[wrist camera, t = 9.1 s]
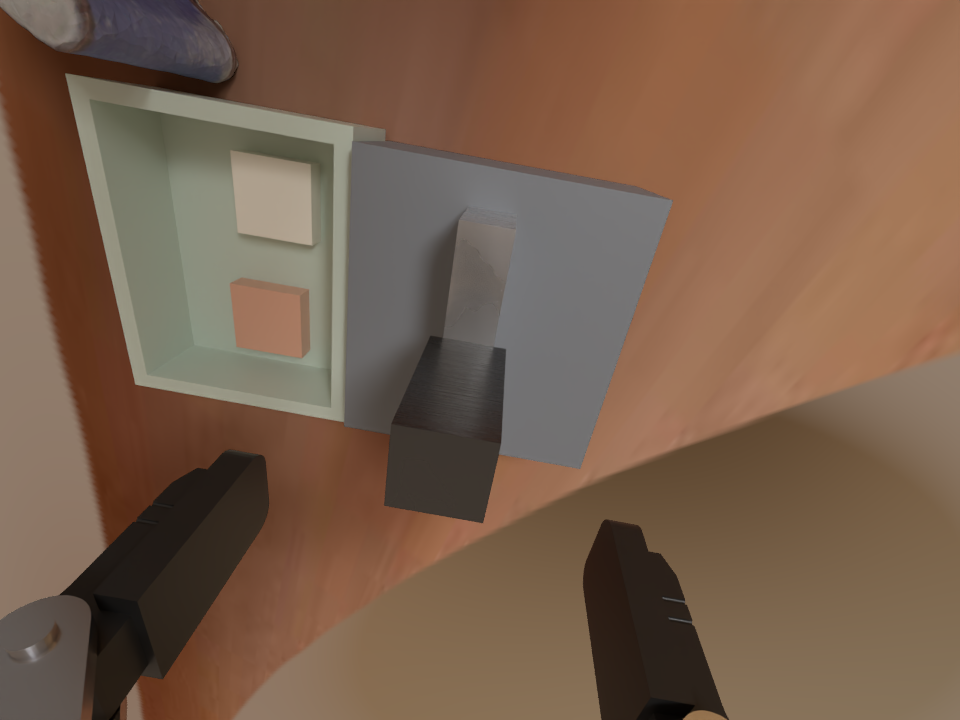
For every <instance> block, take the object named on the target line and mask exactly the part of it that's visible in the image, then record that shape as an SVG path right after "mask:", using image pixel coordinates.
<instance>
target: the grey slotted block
mask: <svg viewBox="0 0 960 720" xmlns="http://www.w3.org/2000/svg"><path fill="white" fill-rule="evenodd" d="M672 202H673V200H670V199H668V198H665V197H663V196H660V195H657V194H655V193H652V192H650V191H647V190H644V189H642V188H639V187H636V186H631V185H626V184H620V183H615V182H609V181H604V180H599V179H593V178H588V177H582V176H577V175H571V174H566V173H561V172H555V171H550V170H544V169H539V168H534V167H528V166H523V165H517V164H512V163H506V162H501V161H496V160H490V159H485V158H479V157H474V156H469V155H463V154H458V153H452V152H447V151H442V150H436V149H431V148H425V147H420V146H414V145H409V144H404V143H398V142H393V141H352V160H351V196H350V232H349V268H348V304H347V340H346V377H345V413H344V426H345V427H350V428H356V429H362V430H367V431H373V432H378V433H384V434H389V435H390V430H391V423H392V421H393V419H394V416H395V414H396V412H397V410H398V407H399V405H400V403H401V401H402V398H403V396H404V394H405V392H406V389H407V387H408V385H409V383H410V380H411V378H412V376H413V374H414V371H415V369H416V367H417V365H418V362H419V360H420V358H421V356H422V353H423V351H424V349H425V347H426V344H427V342H428V340H429V337H430V335H431V336H436V337H442V338H443V334H444V327H445V319H446V312H447V305H448V297H449V290H450V282H451V275H452V268H453V260H454V253H455V245H456V238H457V230H458V223H459V219H460V218H461V216H462V215H463V214H464V212H465V211H466V209H467V208H468V207H469V206H471V207H476V208H482V209H487V210H493V211H498V212H504V213H509V214H515V215H516V234H515V239H514V244H513V249H512V254H511V260H510V265H509V270H508V275H507V280H506V285H505V290H504V296H503V301H502V306H501V311H500V316H499V321H498V326H497V331H496V337H495V342H494V347H498V348H503V349H506V361H505V381H504V400H503V419H502V439H501V447H500V451H499V454H500V455H506V456H511V457H517V458H522V459H528V460H533V461H539V462H545V463H550V464H556V465H561V466H567V467H572V468H578V469H580V468H581V465H582V462H583V459H584V456H585V453H586V450H587V447H588V444H589V442H590V439H591V436H592V433H593V430H594V427H595V424H596V421H597V419H598V416H599V413H600V410H601V407H602V404H603V401H604V398H605V395H606V393H607V390H608V387H609V384H610V381H611V378H612V375H613V372H614V370H615V367H616V364H617V361H618V358H619V355H620V352H621V349H622V346H623V344H624V341H625V338H626V335H627V332H628V329H629V326H630V323H631V321H632V318H633V315H634V312H635V309H636V306H637V303H638V300H639V297H640V295H641V292H642V289H643V286H644V283H645V280H646V277H647V274H648V272H649V269H650V266H651V263H652V260H653V257H654V254H655V251H656V248H657V246H658V243H659V240H660V237H661V234H662V231H663V228H664V225H665V223H666V220H667V217H668V214H669V211H670V208H671V205H672Z"/></svg>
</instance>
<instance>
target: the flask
mask: <svg viewBox="0 0 960 720" xmlns="http://www.w3.org/2000/svg"><path fill="white" fill-rule="evenodd" d="M0 7H1V8H2V9H3V10H4V11H5V12H6V13H7V14H8V15H9V16H10V17H12V18H13V19H14V20H15V21H16V22H17V23H18V24H20V25H21V26H22V27H23V28H25V29H26V30H28V31H29V32H31V33H32V34H33V35H34V36H35V37H36V38H37V39H38V40H39V41H42V42H44V43H45V44H46V45H48V46H49V47H51V48H53V49H54V50H56V51H60V52H65V53H71V54H78V55H85V56H90V57H94V58H99V59H104V60H109V61H115V62H121V63H125V64H129V65H134V66H138V67H143V68H148V69H153V70H158V71H165V72H170V73H175V74H178V75H182V76H186V77H191V78H196V79H201V80H204V81H208V82H212V83H220V82H223V81H226V80H228V79H230V77H231V76H233V75H234V72H235V70H236V68H237V66H238V60H237V58H236V54H235V51H234V48H233V47H232V45H231V42H230V40H229V38H228V37H227V36H226V34H225V32H224V31H223V29H222V26H221V25H220V24H219V23H218V22H217V21H216V20H214V21H213V20H212V19H211V18H210V17H209V16H208V15H207V14H206V12H205V11H204V10H203V8H202V7H201V5H199V3H198V0H0Z"/></svg>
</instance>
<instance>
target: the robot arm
mask: <svg viewBox="0 0 960 720" xmlns="http://www.w3.org/2000/svg"><path fill="white" fill-rule="evenodd" d="M268 508H269V495H268V483H267V472H266V461H265V458H264V456H262V455H258V454H252V453H247V452H241V451H236V450H227V451H225V452H224V453H222V454H221V455H220V457H219V458H218V459H217V460H216V461H215V462H214V463H213V464H212V465H211V466H210V467H209V468H208V469H207V470H206V469H201V468H197V469H195V470H193V471H191V472H190V473H188V474H186V475H184V476H183V477H181V478H179V479H178V480H176V481H174V482H172V483H171V484H170V485H169V486H168V487H167V488H166V489H165V490H164V491H163V492H162V493H161V494H160V495H159V496H158V497H157V498H156V499H155V500H154V501H153V505H152V506H149V507H148V508H147V509H146V510H145V511H144V512H143V513H142V514H141V515H140V516H139V517H138V518H137V521H136V522H133V523H132V524H131V525H130V526H129V527H128V528H127V529H126V530H125V531H124V532H123V533H122V534H121V535H120V536H119V537H118V538H117V539H116V540H115V541H114V542H113V543H112V544H111V545H110V546H109V547H108V548H107V549H106V550H105V551H104V552H103V553H102V554H101V555H100V556H99V557H98V558H97V559H96V560H95V561H94V562H93V563H92V564H91V565H90V566H89V567H88V568H87V569H86V570H85V571H84V572H83V573H82V574H81V575H80V576H79V577H78V578H77V579H76V580H75V581H74V582H73V583H72V584H71V585H70V586H69V587H68V588H67V589H66V590H65V591H63V592H62V593H61V594H60V595H58V596H52V597H48V598H44V599H40V600H37V601H34V602H32V603H29V604H27V605H25V606H23V607H20V608H19V609H17V610H15V611H13V612H12V613H10V614H8V615H7V616H6V617H4V618H2V619H1V620H0V720H126V719H127V697H126V696H127V694H128V693H129V691H130V690H131V689H132V687H133V686H134V684H135V683H136V682H137V680H138V679H139V677H140V676H141V675H142V676H147V677H153V678H158V679H163V678H164V677H165V675H166V674H167V672H168V671H169V669H170V667H171V666H172V664H173V663H174V661H175V660H176V658H177V657H178V655H179V654H180V652H181V651H182V649H183V648H184V646H185V645H186V643H187V641H188V640H189V638H190V637H191V635H192V634H193V632H194V631H195V629H196V628H197V626H198V625H199V623H200V622H201V620H202V619H203V617H204V615H205V614H206V612H207V611H208V609H209V608H210V606H211V605H212V603H213V602H214V600H215V599H216V597H217V596H218V594H219V593H220V591H221V589H222V588H223V586H224V585H225V583H226V582H227V580H228V579H229V577H230V576H231V574H232V573H233V571H234V570H235V568H236V566H237V565H238V563H239V562H240V560H241V559H242V557H243V556H244V554H245V553H246V551H247V550H248V548H249V547H250V545H251V544H252V542H253V540H254V539H255V537H256V536H257V534H258V533H259V531H260V530H261V528H262V526H263V524H264V522H265V519H266V516H267V513H268ZM583 589H584V597H585V603H586V611H587V619H588V626H589V633H590V640H591V647H592V654H593V662H594V668H595V676H596V683H597V691H598V698H599V705H600V712H601V719H602V720H729V719H728V717H727V715H726V713H725V711H724V708H723V706H722V703H721V700H720V697H719V695H718V692H717V689H716V686H715V683H714V680H713V678H712V675H711V672H710V669H709V666H708V663H707V661H706V658H705V655H704V652H703V649H702V647H701V644H700V641H699V638H698V635H697V632H696V629H695V627H694V626H693V625H692V618H691V615H690V612H689V610H688V607H687V605H685V598H684V595H683V593H682V590H681V587H680V584H679V581H678V579H677V576H676V574H675V573H674V572H673V570H672V569H671V568H670V566H669V565H668V563H667V562H666V561H665V559H664V558H663V557H662V555H661V554H659V553H653V552H648V549H647V546H646V542H645V539H644V536H643V533H642V530H641V528H640V527H639V526H638V525H634V524H628V523H623V522H617V521H612V520H604V521H603V523H602V524H601V527H600V529H599V531H598V534H597V536H596V539H595V541H594V543H593V546H592V548H591V551H590V553H589V555H588V558H587V560H586V563H585V568H584V575H583Z"/></svg>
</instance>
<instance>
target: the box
mask: <svg viewBox="0 0 960 720" xmlns="http://www.w3.org/2000/svg"><path fill="white" fill-rule="evenodd" d="M65 75H66V79H67V84H68V88H69V92H70V97H71V101H72V106H73V110H74V115H75V119H76V123H77V128H78V132H79V137H80V141H81V146H82V150H83V154H84V159H85V163H86V168H87V172H88V177H89V181H90V185H91V190H92V194H93V199H94V203H95V207H96V212H97V216H98V221H99V225H100V230H101V234H102V238H103V243H104V247H105V252H106V256H107V261H108V265H109V269H110V274H111V278H112V283H113V287H114V292H115V296H116V300H117V305H118V309H119V314H120V318H121V323H122V327H123V331H124V336H125V340H126V345H127V349H128V354H129V358H130V362H131V367H132V371H133V376H134V380H135V385H141V386H146V387H152V388H157V389H163V390H169V391H174V392H180V393H185V394H191V395H196V396H202V397H207V398H213V399H218V400H224V401H229V402H235V403H241V404H246V405H252V406H257V407H263V408H268V409H274V410H279V411H285V412H290V413H296V414H302V415H307V416H313V417H318V418H324V419H329V420H335V421H340V422H344V413H345V377H346V340H347V304H348V268H349V232H350V196H351V160H352V141H385V133H386V129H381V128H376V127H370V126H365V125H360V124H354V123H349V122H343V121H338V120H333V119H327V118H322V117H316V116H311V115H305V114H300V113H295V112H289V111H284V110H278V109H273V108H268V107H262V106H257V105H251V104H246V103H241V102H235V101H230V100H224V99H219V98H214V97H208V96H203V95H197V94H192V93H186V92H181V91H176V90H170V89H165V88H159V87H154V86H147V85H140V84H134V83H127V82H120V81H114V80H107V79H100V78H93V77H87V76H80V75H73V74H67V73H65ZM230 150H248V151H254V152H260V153H265V154H271V155H277V156H282V157H288V158H294V159H299V160H305V161H311V162H316V163H320V169H321V241H320V242H318V243H316V244H314V245H312V246H311V245H306V244H300V243H294V242H289V241H283V240H277V239H271V238H266V237H260V236H254V235H249V234H243V233H238V229H237V218H236V208H235V197H234V186H233V176H232V165H231V154H230ZM241 277H242V278H248V279H254V280H260V281H265V282H271V283H277V284H282V285H288V286H294V287H299V288H305V289H309V311H310V351H309V352H308V353H307V354H306V355H305V356H304V357H303V358H297V357H292V356H286V355H280V354H274V353H269V352H263V351H257V350H252V349H246V348H240V347H236V337H235V328H234V319H233V309H232V300H231V291H230V283H231V282H233V281H235V280H237V279H239V278H241Z"/></svg>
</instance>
